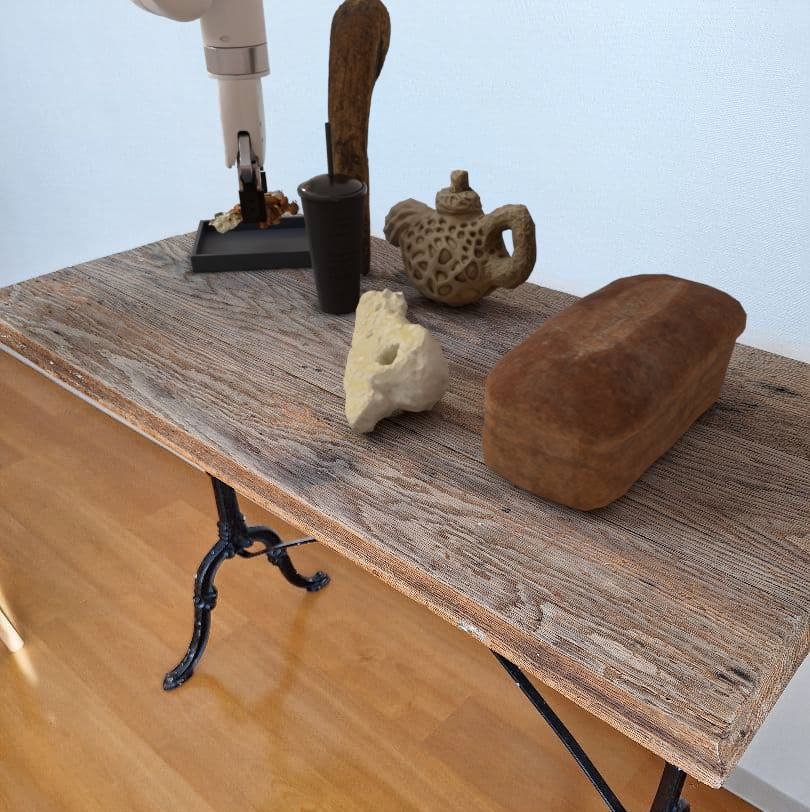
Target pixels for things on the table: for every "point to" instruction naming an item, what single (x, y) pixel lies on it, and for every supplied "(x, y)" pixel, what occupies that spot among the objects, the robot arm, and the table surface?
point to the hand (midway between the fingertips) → (256, 211)
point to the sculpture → (355, 91)
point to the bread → (608, 387)
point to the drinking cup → (334, 234)
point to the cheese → (390, 363)
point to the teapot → (461, 244)
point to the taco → (274, 209)
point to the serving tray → (251, 246)
